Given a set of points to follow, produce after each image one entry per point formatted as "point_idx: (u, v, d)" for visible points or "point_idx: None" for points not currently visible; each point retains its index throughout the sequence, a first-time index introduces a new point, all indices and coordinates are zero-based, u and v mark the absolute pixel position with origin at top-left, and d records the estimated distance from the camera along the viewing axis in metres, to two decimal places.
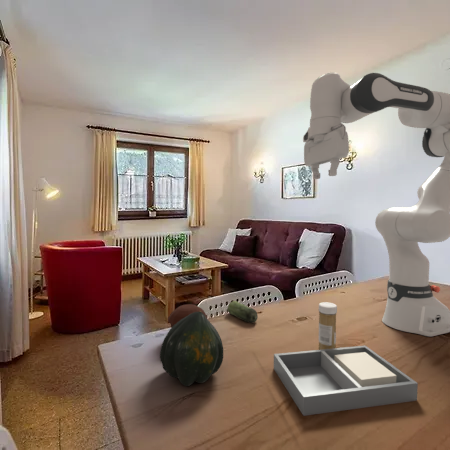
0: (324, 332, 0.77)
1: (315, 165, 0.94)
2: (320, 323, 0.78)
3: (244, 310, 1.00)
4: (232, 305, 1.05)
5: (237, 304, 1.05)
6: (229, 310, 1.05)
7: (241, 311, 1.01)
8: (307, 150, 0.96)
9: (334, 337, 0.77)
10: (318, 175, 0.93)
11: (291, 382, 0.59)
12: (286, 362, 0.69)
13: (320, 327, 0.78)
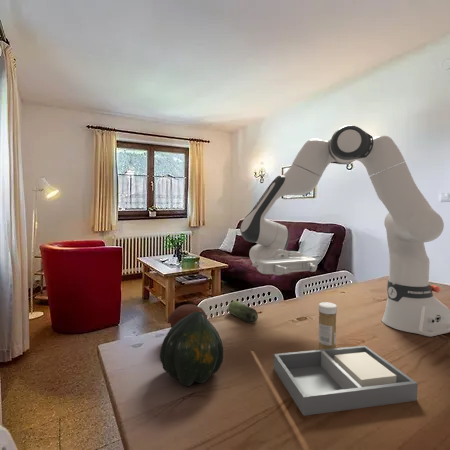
0: (324, 332, 0.77)
1: (306, 266, 0.95)
2: (320, 323, 0.78)
3: (244, 310, 1.00)
4: (233, 305, 1.05)
5: (237, 304, 1.05)
6: (230, 310, 1.06)
7: (241, 311, 1.01)
8: None
9: (334, 337, 0.77)
10: (310, 267, 0.91)
11: (291, 382, 0.59)
12: (286, 362, 0.69)
13: (320, 327, 0.78)
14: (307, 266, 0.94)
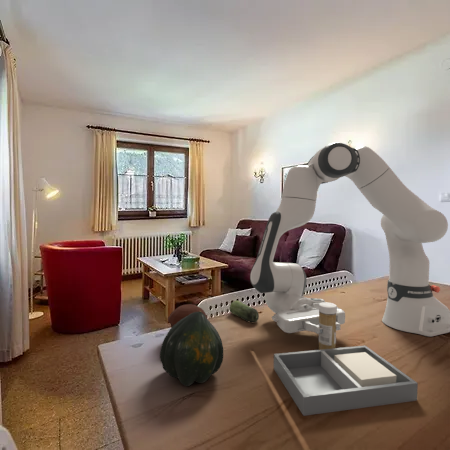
0: (324, 332, 0.77)
1: None
2: (320, 323, 0.78)
3: (245, 310, 1.00)
4: (234, 305, 1.06)
5: (239, 304, 1.05)
6: (231, 309, 1.06)
7: (242, 311, 1.01)
8: None
9: (334, 337, 0.77)
10: None
11: (291, 382, 0.59)
12: (286, 362, 0.69)
13: None
14: None
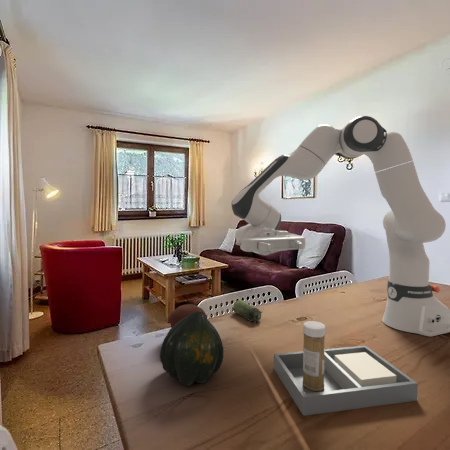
0: (309, 360, 0.61)
1: (293, 244, 0.88)
2: (305, 348, 0.62)
3: (248, 309, 1.01)
4: (237, 304, 1.06)
5: (242, 303, 1.06)
6: (234, 309, 1.07)
7: (245, 310, 1.02)
8: None
9: (322, 366, 0.61)
10: (296, 244, 0.85)
11: (291, 382, 0.59)
12: (286, 362, 0.69)
13: (304, 353, 0.62)
14: (294, 244, 0.88)
